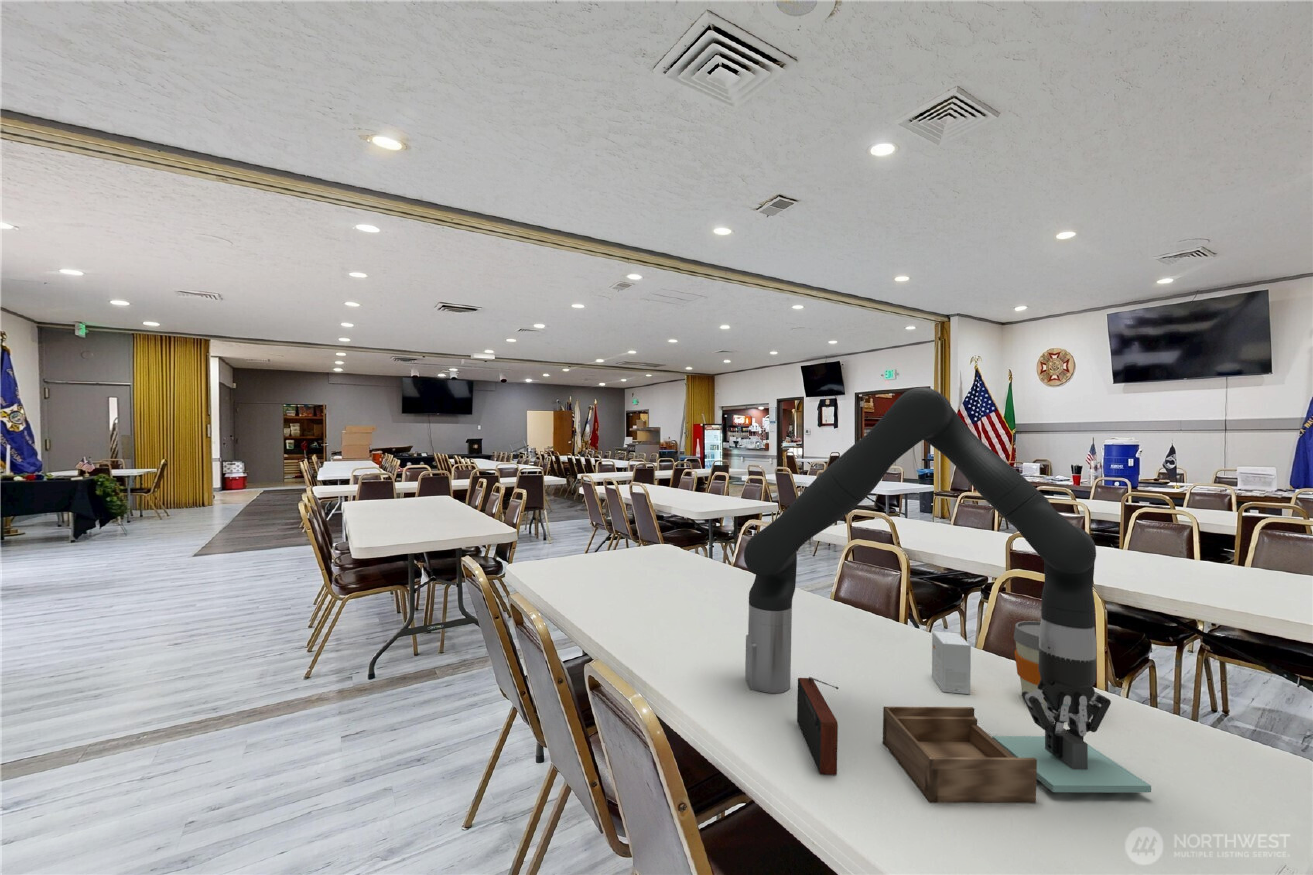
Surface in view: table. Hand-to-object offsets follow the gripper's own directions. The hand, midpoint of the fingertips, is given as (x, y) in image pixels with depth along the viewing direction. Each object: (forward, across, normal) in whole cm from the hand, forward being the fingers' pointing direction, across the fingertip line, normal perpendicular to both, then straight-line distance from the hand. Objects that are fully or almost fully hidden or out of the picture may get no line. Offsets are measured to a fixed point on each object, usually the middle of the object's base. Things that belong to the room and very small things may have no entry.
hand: (1064, 754), depth 91 cm
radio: (+3, -39, +6) cm, 40 cm away
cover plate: (+1, 0, 0) cm, 2 cm away
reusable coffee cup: (+3, +14, +23) cm, 27 cm away
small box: (+3, -2, +31) cm, 31 cm away
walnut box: (+3, -18, 0) cm, 19 cm away
